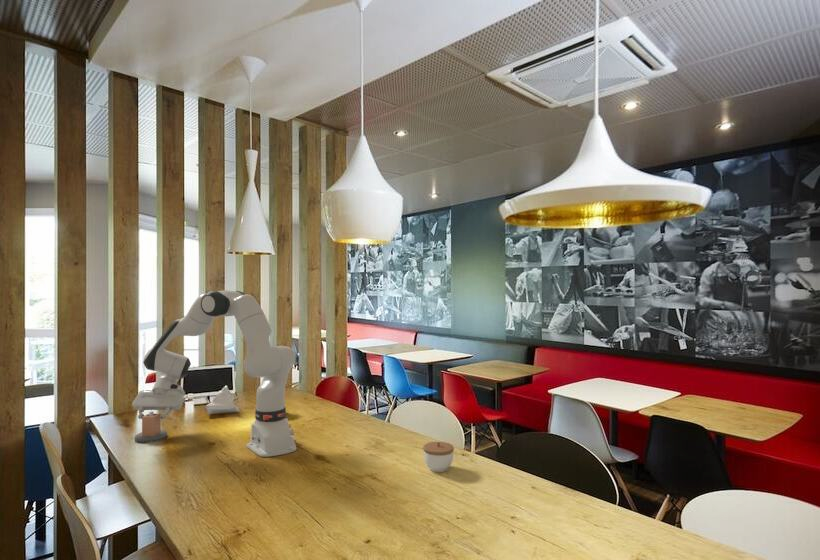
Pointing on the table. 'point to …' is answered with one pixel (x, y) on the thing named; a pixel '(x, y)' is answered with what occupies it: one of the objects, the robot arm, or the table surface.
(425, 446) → the lidded jar
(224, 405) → the white irregular peaked block
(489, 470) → the table surface
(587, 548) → the table surface
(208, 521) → the table surface
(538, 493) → the table surface
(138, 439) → the stand
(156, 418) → the collar
